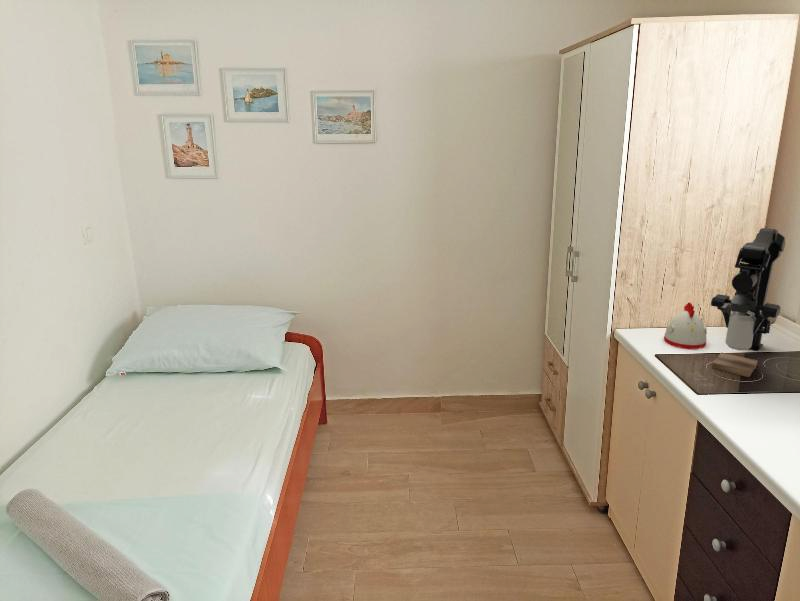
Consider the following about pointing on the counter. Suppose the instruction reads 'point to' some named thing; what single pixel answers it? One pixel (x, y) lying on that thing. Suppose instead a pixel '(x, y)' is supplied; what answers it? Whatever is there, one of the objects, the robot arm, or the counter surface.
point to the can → (740, 330)
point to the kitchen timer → (686, 330)
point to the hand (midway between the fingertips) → (740, 330)
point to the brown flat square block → (735, 364)
